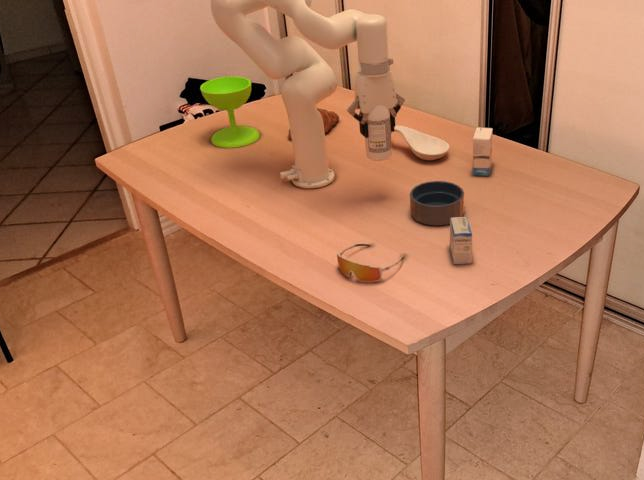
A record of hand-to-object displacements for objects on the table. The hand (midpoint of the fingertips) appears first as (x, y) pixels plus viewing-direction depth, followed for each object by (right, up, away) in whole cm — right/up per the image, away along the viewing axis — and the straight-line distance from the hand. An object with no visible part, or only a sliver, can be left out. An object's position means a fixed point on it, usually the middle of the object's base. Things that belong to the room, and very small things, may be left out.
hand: (378, 132), depth 187 cm
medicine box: (+21, -33, -15) cm, 42 cm away
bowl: (+16, -21, +2) cm, 27 cm away
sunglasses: (-1, -36, -17) cm, 40 cm away
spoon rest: (+10, 0, +34) cm, 36 cm away
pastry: (-24, +11, +51) cm, 58 cm away
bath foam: (0, -6, +4) cm, 7 cm away
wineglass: (-50, +8, +48) cm, 70 cm away
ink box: (+30, -7, +23) cm, 38 cm away
